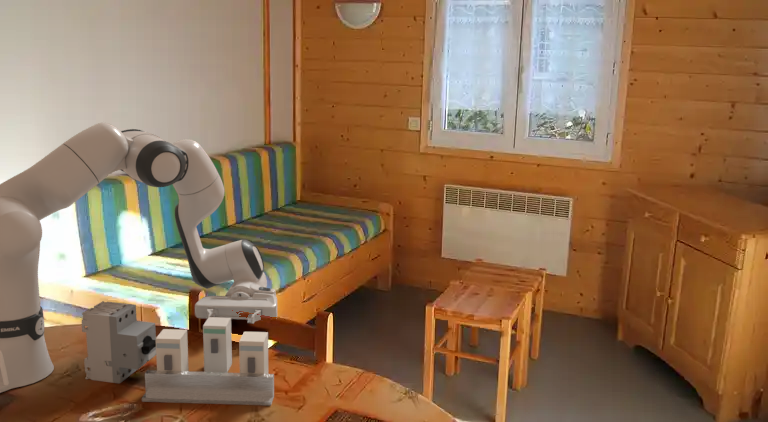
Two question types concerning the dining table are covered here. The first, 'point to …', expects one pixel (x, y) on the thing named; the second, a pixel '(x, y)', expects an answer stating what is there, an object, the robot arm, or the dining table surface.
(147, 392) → the rail
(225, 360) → the loose module
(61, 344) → the dining table surface
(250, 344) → the module right
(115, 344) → the circuit breaker
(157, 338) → the module left
